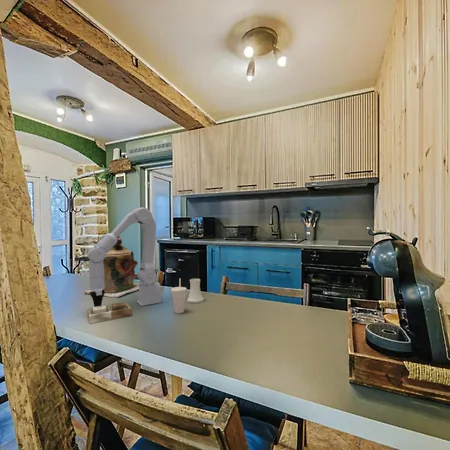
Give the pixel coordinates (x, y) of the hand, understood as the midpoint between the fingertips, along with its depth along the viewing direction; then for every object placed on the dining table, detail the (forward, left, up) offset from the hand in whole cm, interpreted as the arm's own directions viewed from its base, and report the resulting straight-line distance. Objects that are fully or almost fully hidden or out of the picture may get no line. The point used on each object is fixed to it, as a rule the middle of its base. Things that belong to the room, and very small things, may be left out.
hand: (97, 308), depth 115 cm
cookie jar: (-13, -33, -2) cm, 36 cm away
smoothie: (-29, +19, -2) cm, 35 cm away
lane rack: (-4, +8, -2) cm, 9 cm away
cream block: (0, +7, -2) cm, 7 cm away
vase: (-41, +9, -2) cm, 42 cm away
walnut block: (-7, +7, -2) cm, 10 cm away
